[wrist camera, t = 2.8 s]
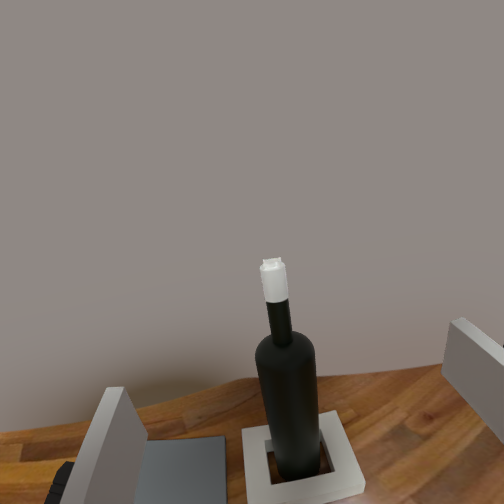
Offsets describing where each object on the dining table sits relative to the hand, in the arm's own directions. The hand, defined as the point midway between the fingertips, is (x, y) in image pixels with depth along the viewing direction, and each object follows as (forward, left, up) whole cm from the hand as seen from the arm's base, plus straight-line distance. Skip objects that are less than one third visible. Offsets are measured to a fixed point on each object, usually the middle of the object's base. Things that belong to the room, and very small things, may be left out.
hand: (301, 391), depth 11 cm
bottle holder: (-1, -16, -30) cm, 34 cm away
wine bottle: (-1, -16, -30) cm, 35 cm away
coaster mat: (+19, -16, -30) cm, 39 cm away
